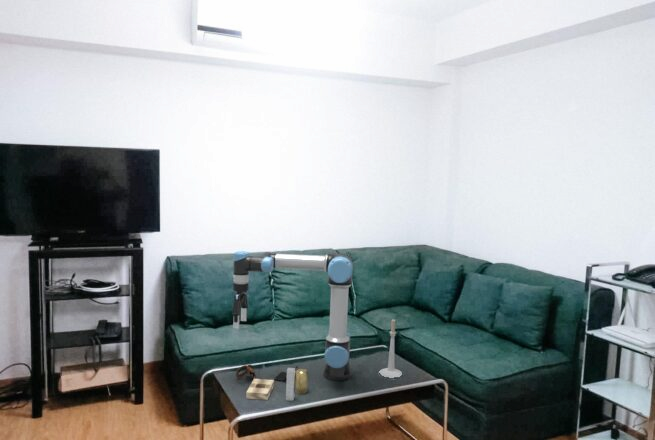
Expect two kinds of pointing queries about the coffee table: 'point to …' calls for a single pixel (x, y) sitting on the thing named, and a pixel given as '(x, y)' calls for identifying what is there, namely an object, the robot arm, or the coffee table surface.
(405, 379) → the coffee table surface
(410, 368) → the coffee table surface
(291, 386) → the square steel bit
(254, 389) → the socket plate
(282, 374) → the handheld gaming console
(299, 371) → the round brass bit
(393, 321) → the candlestick
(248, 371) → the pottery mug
